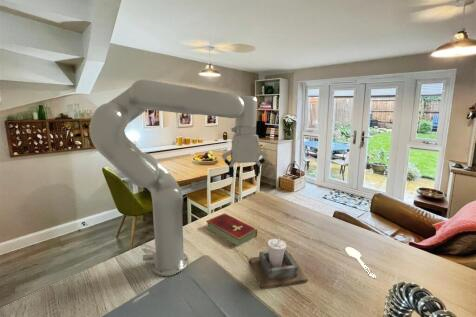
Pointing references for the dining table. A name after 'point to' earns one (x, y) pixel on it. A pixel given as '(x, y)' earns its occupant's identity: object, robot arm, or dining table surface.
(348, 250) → the spoon
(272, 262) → the smoothie
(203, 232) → the dining table surface
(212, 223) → the hardcover book
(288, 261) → the holder
